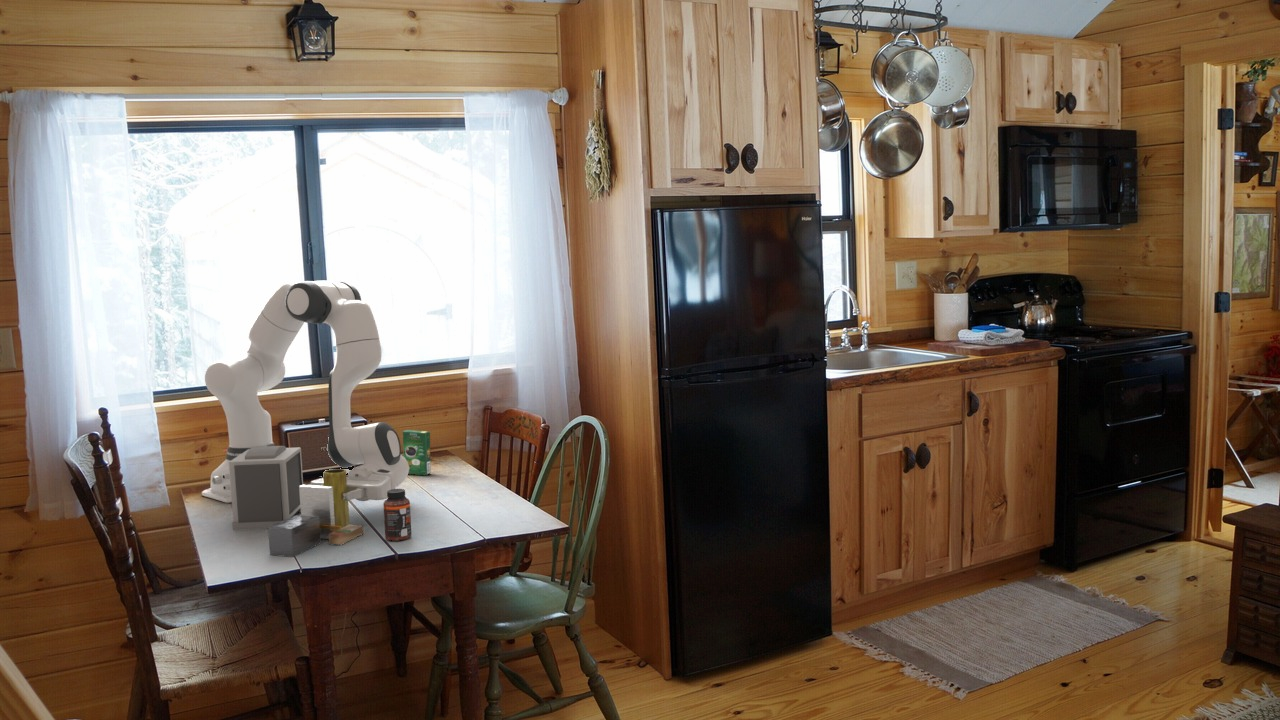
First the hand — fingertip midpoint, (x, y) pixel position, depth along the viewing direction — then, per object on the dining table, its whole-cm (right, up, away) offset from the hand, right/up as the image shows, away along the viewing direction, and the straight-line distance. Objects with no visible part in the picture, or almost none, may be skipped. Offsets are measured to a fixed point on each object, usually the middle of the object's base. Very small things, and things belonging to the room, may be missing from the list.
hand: (332, 496), depth 238 cm
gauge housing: (-4, -10, -13) cm, 17 cm away
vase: (+1, -8, +2) cm, 9 cm away
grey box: (-20, -8, +14) cm, 25 cm away
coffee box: (+7, -2, +59) cm, 59 cm away
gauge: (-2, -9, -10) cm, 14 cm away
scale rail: (+5, -9, -6) cm, 12 cm away
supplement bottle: (+17, -9, -6) cm, 20 cm away
